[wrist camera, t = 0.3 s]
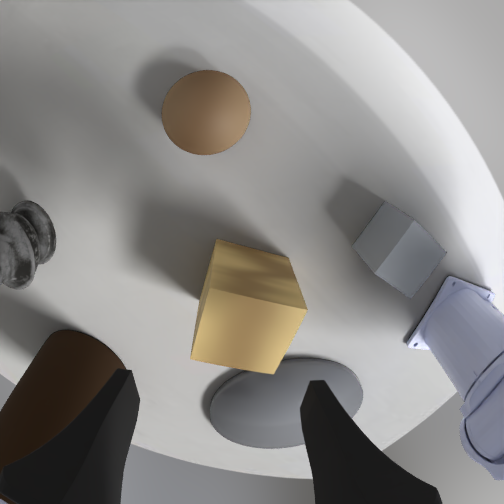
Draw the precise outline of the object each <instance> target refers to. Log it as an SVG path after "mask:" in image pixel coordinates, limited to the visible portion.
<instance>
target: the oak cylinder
mask: <svg viewBox="0 0 504 504" xmlns="http://www.w3.org/2000/svg"><path fill="white" fill-rule="evenodd" d="M250 114H251V107H250V101H249V98H248V95H247V93H246V91H245V90H244V88H243V87H242V85H241V84H240V83H239V82H238V81H237V80H235V79H234V78H233V77H231V76H229V75H227V74H225V73H222V72H219V71H213V70H203V71H197V72H194V73H191V74H188V75H186V76H184V77H183V78H181V79H180V80H179V81H177V82H176V83H175V84H174V85H173V86H172V87H171V89H170V90H169V92H168V93H167V95H166V97H165V100H164V102H163V107H162V122H163V126H164V129H165V131H166V133H167V135H168V137H169V138H170V139H171V141H172V142H173V143H174V144H175V145H177V146H178V147H179V148H181V149H182V150H185V151H187V152H189V153H192V154H197V155H211V154H216V153H219V152H222V151H224V150H227V149H228V148H230V147H231V146H233V145H234V144H235V143H236V142H237V141H238V140H239V139H240V138H241V137H242V136H243V134H244V133H245V131H246V129H247V127H248V124H249V120H250Z"/></svg>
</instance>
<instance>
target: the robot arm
mask: <svg viewBox="0 0 504 504" xmlns="http://www.w3.org/2000/svg"><path fill="white" fill-rule="evenodd" d="M494 297H495V294H494V293H493V292H491V291H489V290H486V289H484V288H481V287H479V286H476V285H473V284H471V283H468V282H465V281H463V280H460V279H458V278H455V277H452V276H449V277H447V278H446V280H445V282H444V283H443V285H442V287H441V289H440V291H439V292H438V294H437V296H436V298H435V299H434V301H433V303H432V304H431V306H430V308H429V309H428V311H427V312H426V314H425V316H424V317H423V319H422V320H421V322H420V324H419V325H418V327H417V328H416V330H415V331H414V333H413V334H412V336H411V337H410V339H409V340H408V341H407V344H406V345H407V346H408V348H415V349H425V350H431V351H432V353H433V354H434V356H435V357H436V359H437V360H438V362H439V363H440V365H441V366H442V368H443V369H444V371H445V372H446V374H447V375H448V377H449V378H450V380H451V382H452V383H453V385H454V386H455V388H456V389H457V391H458V393H459V394H460V396H461V397H462V399H463V400H464V402H465V403H464V404H463V405H462V407H461V408H460V411H461V412H462V414H463V416H464V417H463V419H462V421H461V423H460V438H461V442H462V445H463V447H464V450H465V451H466V453H467V454H468V456H469V457H470V458H471V459H472V460H474V461H475V462H477V463H479V464H481V465H482V466H483V467H485V468H486V469H487V470H488V471H489V472H490V474H491V475H492V476H493V478H494V479H495V480H504V315H503V314H502V313H501V312H500V311H499V310H498V309H497V308H496V307H495V306H494V305H493V304H492V303H491V302H492V301H493V299H494ZM139 404H140V397H139V394H138V391H137V387H136V384H135V380H134V377H133V373H132V370H126V369H120V368H118V369H116V370H115V372H114V373H113V374H112V376H111V377H110V378H109V380H108V381H107V382H106V383H105V385H104V386H103V387H102V388H101V390H100V391H99V392H98V393H97V394H96V396H95V397H94V398H93V399H92V400H91V401H90V403H89V404H88V405H87V406H86V407H85V408H84V409H83V410H82V411H81V412H80V413H79V415H78V416H77V417H76V418H75V419H74V420H73V421H72V422H71V423H70V424H69V425H67V426H66V427H65V428H64V429H63V430H62V431H61V432H60V433H58V434H57V435H56V436H55V437H53V438H52V439H51V440H49V441H48V442H47V443H45V444H44V445H43V446H41V447H40V448H38V449H36V450H35V451H33V452H32V453H30V454H28V455H27V456H25V457H23V458H21V459H19V460H17V461H15V462H13V463H11V464H8V465H6V466H4V467H3V469H2V471H1V474H0V493H1V494H2V495H4V496H5V497H7V498H8V499H10V500H11V501H13V502H14V503H16V504H120V502H121V488H122V480H123V471H124V466H125V461H126V457H127V454H128V450H129V447H130V443H131V440H132V436H133V432H134V429H135V425H136V422H137V416H138V411H139ZM300 417H301V426H302V432H303V437H304V441H305V445H306V449H307V454H308V458H309V462H310V466H311V470H312V476H313V483H314V492H315V504H442V501H441V498H440V495H439V492H438V490H437V488H436V487H433V486H432V485H430V484H427V483H425V482H423V481H422V480H420V479H418V478H416V477H415V476H413V475H412V474H410V473H409V472H407V471H406V470H404V469H403V468H401V467H400V466H399V465H397V464H396V463H395V462H393V461H392V460H391V459H390V458H389V457H387V456H386V455H385V454H384V453H383V452H382V451H381V450H380V449H378V448H377V447H376V446H375V445H374V444H373V443H372V442H371V441H370V440H369V438H368V437H367V436H366V435H365V434H364V433H363V432H362V431H361V429H360V428H359V427H358V426H357V425H356V423H355V422H354V421H353V420H352V418H351V417H350V416H349V414H348V413H347V412H346V411H345V409H344V408H343V406H342V405H341V404H340V402H339V401H338V399H337V398H336V396H335V395H334V393H333V392H332V390H331V389H330V387H329V386H328V384H327V383H326V381H325V380H310V382H309V384H308V387H307V390H306V393H305V395H304V398H303V401H302V404H301V406H300ZM0 504H8V503H6V502H5V501H3V500H1V499H0Z"/></svg>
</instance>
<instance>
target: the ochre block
mask: <svg viewBox="0 0 504 504" xmlns="http://www.w3.org/2000/svg"><path fill="white" fill-rule="evenodd" d="M307 310H308V309H307V307H306V304H305V301H304V298H303V296H302V293H301V290H300V287H299V285H298V282H297V279H296V277H295V274H294V271H293V268H292V266H291V263H290V260H289V258H287V257H283V256H279V255H276V254H272V253H268V252H264V251H261V250H257V249H253V248H249V247H245V246H242V245H238V244H234V243H230V242H227V241H223V240H219V239H216V242H215V246H214V249H213V253H212V256H211V260H210V264H209V267H208V271H207V274H206V278H205V282H204V285H203V289H202V293H201V297H200V300H199V306H198V312H197V319H196V325H195V331H194V337H193V344H192V351H191V357H190V359H192V360H197V361H201V362H206V363H211V364H216V365H221V366H226V367H231V368H237V369H243V370H248V371H255V372H261V373H268V374H274V373H275V371H276V369H277V368H278V366H279V364H280V362H281V360H282V358H283V357H284V355H285V353H286V351H287V349H288V347H289V345H290V344H291V342H292V340H293V338H294V336H295V334H296V332H297V330H298V328H299V326H300V324H301V322H302V320H303V318H304V316H305V314H306V312H307Z"/></svg>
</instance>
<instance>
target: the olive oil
mask: <svg viewBox="0 0 504 504" xmlns="http://www.w3.org/2000/svg"><path fill="white" fill-rule="evenodd" d="M118 368H120V369H126V368H125V366H124V364H123V363H122V362H121V360H120V359H119V358H118V357H117V356H116V355H115V353H113V352H112V351H111V350H110V349H109V348H108V347H106V346H105V345H104V344H102V343H101V342H99V341H98V340H96V339H94V338H92V337H90V336H88V335H86V334H83V333H80V332H76V331H71V330H61V331H57V332H54V333H53V334H52V335H50V336H49V338H48V339H47V340H46V342H45V343H44V345H43V346H42V347H41V349H40V350H39V352H38V353H37V355H36V356H35V358H34V359H33V361H32V362H31V364H30V365H29V367H28V368H27V370H26V371H25V373H24V375H23V376H22V378H21V379H20V381H19V382H18V384H17V385H16V387H15V388H14V390H13V391H12V393H11V395H10V396H9V398H8V399H7V401H6V403H5V404H4V406H3V408H2V409H1V411H0V474H1V471H2V469H3V467H4V466H6V465H8V464H11V463H13V462H15V461H17V460H19V459H21V458H23V457H25V456H27V455H28V454H30V453H32V452H33V451H35V450H36V449H38V448H40V447H41V446H43V445H44V444H45V443H47V442H48V441H49V440H51V439H52V438H53V437H55V436H56V435H57V434H58V433H60V432H61V431H62V430H63V429H64V428H65V427H66V426H67V425H69V424H70V423H71V422H72V421H73V420H74V419H75V418H76V417H77V416H78V415H79V413H80V412H81V411H82V410H83V409H84V408H85V407H86V406H87V405H88V404H89V403H90V401H91V400H92V399H93V398H94V397H95V396H96V394H97V393H98V392H99V391H100V390H101V388H102V387H103V386H104V385H105V383H106V382H107V381H108V380H109V378H110V377H111V376H112V374H113V373H114V372H115V370H116V369H118ZM0 499H1V500H3V501H5V502H6V503H8V504H16V503H14V502H13V501H11V500H10V499H8V498H7V497H5V496H4V495H2V494H1V493H0Z"/></svg>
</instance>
